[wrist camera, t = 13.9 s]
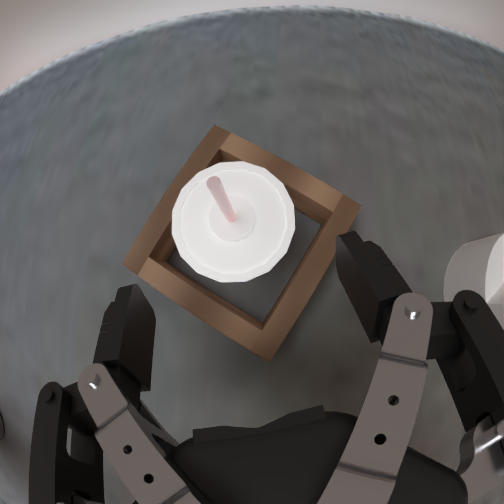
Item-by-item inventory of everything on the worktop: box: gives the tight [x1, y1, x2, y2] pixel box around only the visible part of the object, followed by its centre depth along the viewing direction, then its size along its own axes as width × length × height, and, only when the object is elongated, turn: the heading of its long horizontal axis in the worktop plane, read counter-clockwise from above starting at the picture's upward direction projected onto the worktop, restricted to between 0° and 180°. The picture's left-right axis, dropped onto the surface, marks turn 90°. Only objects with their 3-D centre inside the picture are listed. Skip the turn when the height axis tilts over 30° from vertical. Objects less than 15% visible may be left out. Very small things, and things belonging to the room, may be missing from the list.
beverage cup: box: [172, 161, 295, 282], centre depth 16 cm, size 6×6×14 cm
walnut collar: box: [122, 125, 361, 362], centre depth 21 cm, size 12×12×4 cm
